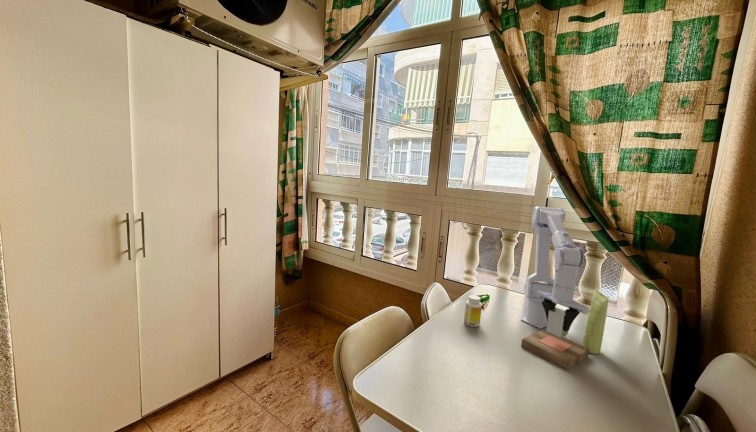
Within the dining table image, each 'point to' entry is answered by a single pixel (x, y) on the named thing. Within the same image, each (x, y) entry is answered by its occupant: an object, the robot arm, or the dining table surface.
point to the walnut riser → (555, 349)
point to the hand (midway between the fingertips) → (557, 326)
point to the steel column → (556, 322)
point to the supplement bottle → (473, 311)
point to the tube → (596, 323)
